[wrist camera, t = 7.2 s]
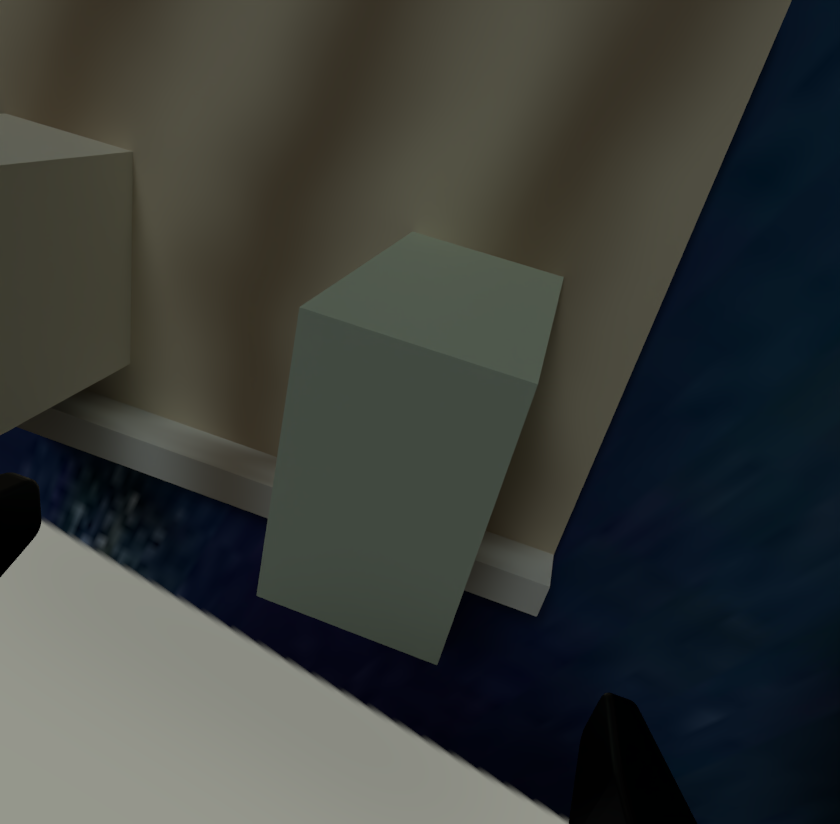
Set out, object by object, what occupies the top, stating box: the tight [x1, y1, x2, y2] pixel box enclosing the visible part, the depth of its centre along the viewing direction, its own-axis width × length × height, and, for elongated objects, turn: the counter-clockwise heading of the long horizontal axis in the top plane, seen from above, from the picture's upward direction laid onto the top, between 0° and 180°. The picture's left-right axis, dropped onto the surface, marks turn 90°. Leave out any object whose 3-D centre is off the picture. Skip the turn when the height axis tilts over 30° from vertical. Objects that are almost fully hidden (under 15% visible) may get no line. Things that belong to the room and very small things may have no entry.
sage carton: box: [256, 232, 564, 665], centre depth 15 cm, size 4×7×7 cm, turn 167°
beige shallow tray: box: [0, 0, 792, 617], centre depth 17 cm, size 19×16×2 cm
